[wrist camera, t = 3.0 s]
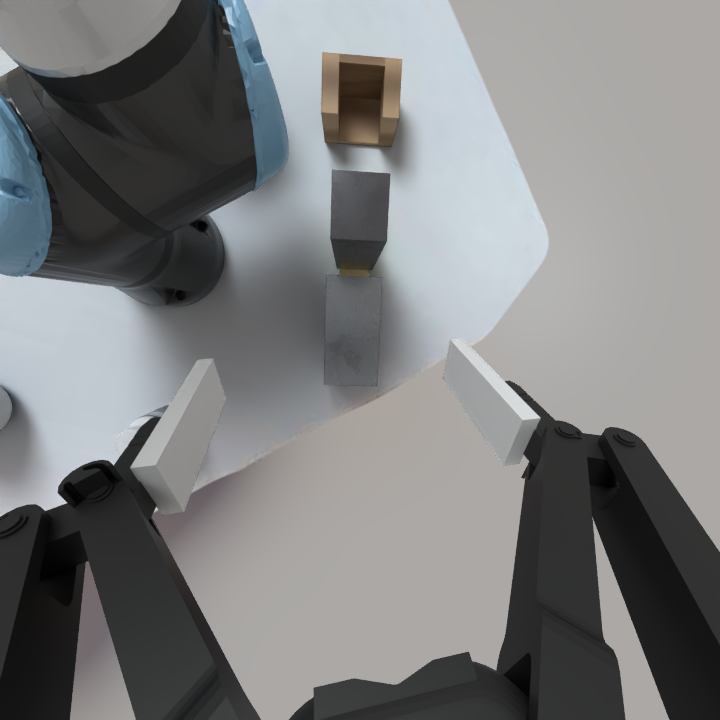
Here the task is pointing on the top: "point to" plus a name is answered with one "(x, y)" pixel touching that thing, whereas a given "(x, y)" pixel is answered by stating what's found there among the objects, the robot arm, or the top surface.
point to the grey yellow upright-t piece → (358, 219)
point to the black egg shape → (4, 408)
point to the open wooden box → (360, 98)
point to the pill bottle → (135, 429)
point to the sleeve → (352, 330)
